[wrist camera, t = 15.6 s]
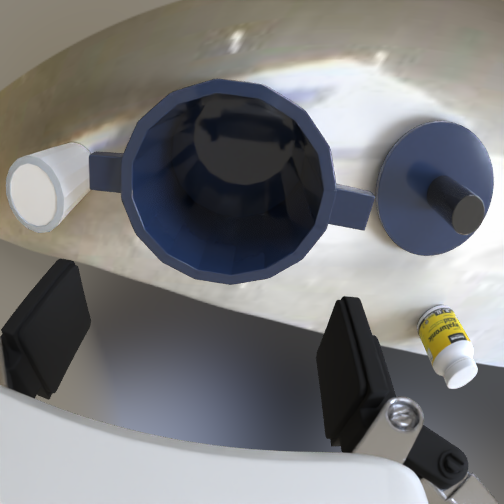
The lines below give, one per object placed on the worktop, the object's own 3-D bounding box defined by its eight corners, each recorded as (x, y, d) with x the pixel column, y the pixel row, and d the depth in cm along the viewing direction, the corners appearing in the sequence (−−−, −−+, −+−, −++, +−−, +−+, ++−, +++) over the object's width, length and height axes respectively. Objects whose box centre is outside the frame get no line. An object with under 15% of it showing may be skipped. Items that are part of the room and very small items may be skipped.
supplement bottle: (450, 296, 33) (484, 354, 24) (453, 323, 35) (482, 378, 27) (412, 315, 34) (441, 377, 26) (418, 340, 37) (442, 399, 28)
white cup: (115, 171, 27) (77, 199, 21) (77, 214, 29) (41, 247, 23) (71, 121, 24) (25, 138, 18) (37, 168, 26) (-5, 194, 20)
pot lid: (394, 99, 22) (428, 107, 17) (501, 146, 23) (539, 164, 18) (356, 238, 29) (374, 274, 24) (459, 258, 30) (486, 291, 25)
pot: (142, 74, 22) (85, 76, 14) (356, 104, 23) (402, 118, 15) (135, 207, 29) (90, 261, 20) (323, 236, 29) (343, 300, 21)
